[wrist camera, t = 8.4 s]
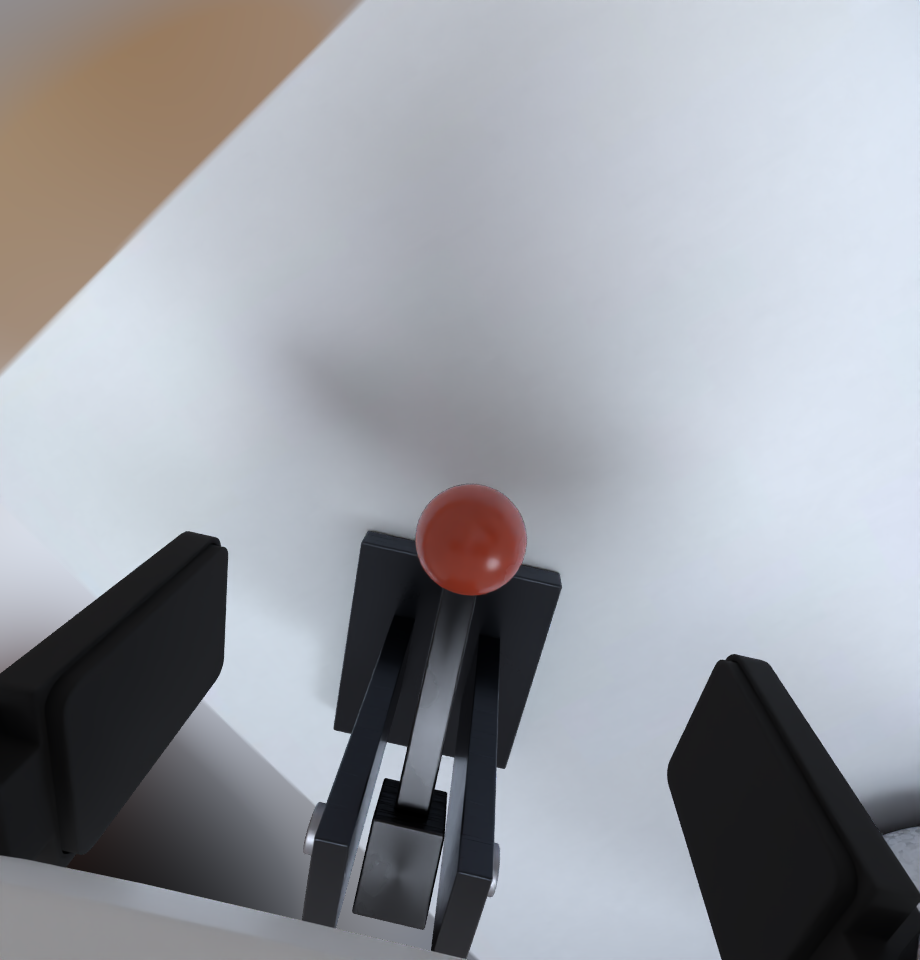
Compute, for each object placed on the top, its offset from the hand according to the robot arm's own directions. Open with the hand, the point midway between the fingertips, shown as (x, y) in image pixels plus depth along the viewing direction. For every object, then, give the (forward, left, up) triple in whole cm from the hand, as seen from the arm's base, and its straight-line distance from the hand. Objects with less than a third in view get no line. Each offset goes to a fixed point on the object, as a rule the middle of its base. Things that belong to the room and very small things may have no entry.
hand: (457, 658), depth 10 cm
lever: (+4, -5, -7) cm, 9 cm away
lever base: (+7, -8, -13) cm, 17 cm away
